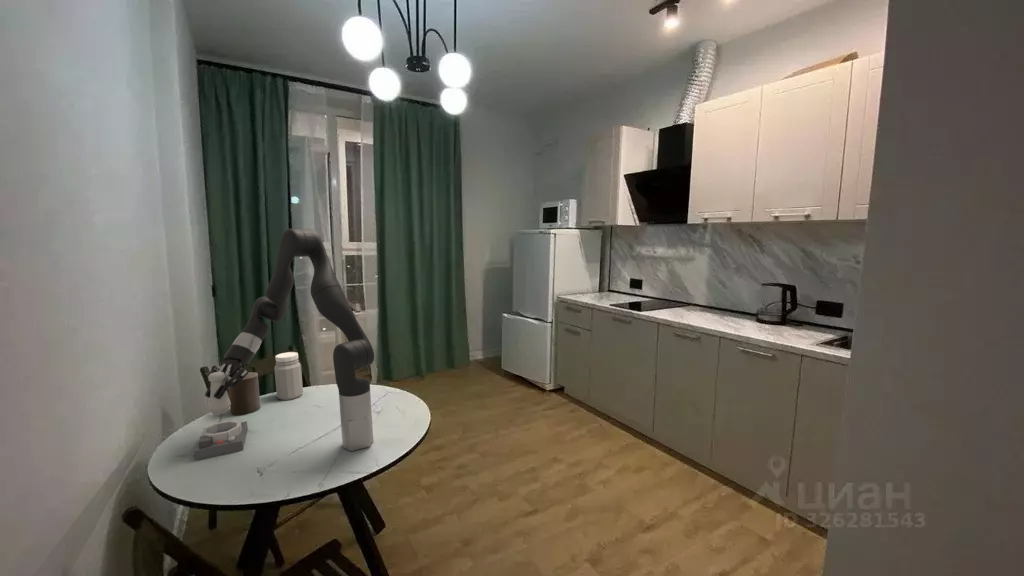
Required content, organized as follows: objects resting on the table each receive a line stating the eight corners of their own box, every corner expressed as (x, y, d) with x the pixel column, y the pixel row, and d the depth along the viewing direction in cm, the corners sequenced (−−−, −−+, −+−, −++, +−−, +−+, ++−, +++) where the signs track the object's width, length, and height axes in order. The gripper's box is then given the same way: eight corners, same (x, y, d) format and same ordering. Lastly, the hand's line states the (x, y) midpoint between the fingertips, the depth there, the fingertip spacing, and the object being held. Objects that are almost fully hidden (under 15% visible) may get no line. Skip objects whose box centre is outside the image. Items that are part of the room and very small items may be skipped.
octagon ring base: (243, 449, 127) (241, 433, 126) (195, 460, 121) (193, 442, 120) (247, 429, 141) (246, 414, 140) (205, 437, 135) (203, 422, 134)
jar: (297, 390, 177) (293, 350, 175) (307, 395, 171) (304, 353, 169) (272, 397, 170) (269, 355, 168) (282, 402, 164) (278, 359, 161)
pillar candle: (240, 417, 151) (237, 378, 149) (225, 412, 155) (221, 374, 153) (266, 407, 159) (263, 370, 158) (250, 403, 164) (247, 367, 162)
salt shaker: (212, 417, 126) (208, 377, 124) (206, 413, 129) (201, 373, 128) (234, 411, 130) (230, 372, 129) (227, 406, 134) (223, 368, 132)
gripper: (219, 342, 136) (185, 390, 126) (252, 344, 132) (220, 394, 122) (235, 353, 142) (204, 400, 132) (267, 355, 138) (238, 404, 128)
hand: (212, 397), depth 127 cm, fingers closed on salt shaker, 3 cm apart
